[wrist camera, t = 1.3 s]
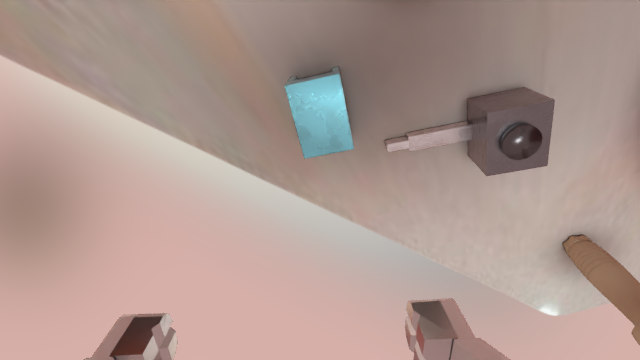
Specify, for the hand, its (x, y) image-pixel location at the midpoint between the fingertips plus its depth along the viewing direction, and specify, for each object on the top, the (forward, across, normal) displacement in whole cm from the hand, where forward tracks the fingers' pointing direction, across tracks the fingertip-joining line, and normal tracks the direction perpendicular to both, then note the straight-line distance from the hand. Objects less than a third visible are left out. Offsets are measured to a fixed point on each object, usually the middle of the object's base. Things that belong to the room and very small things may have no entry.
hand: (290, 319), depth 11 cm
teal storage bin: (+29, -2, -2) cm, 29 cm away
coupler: (+28, -17, +2) cm, 33 cm away
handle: (+28, -36, +18) cm, 50 cm away
